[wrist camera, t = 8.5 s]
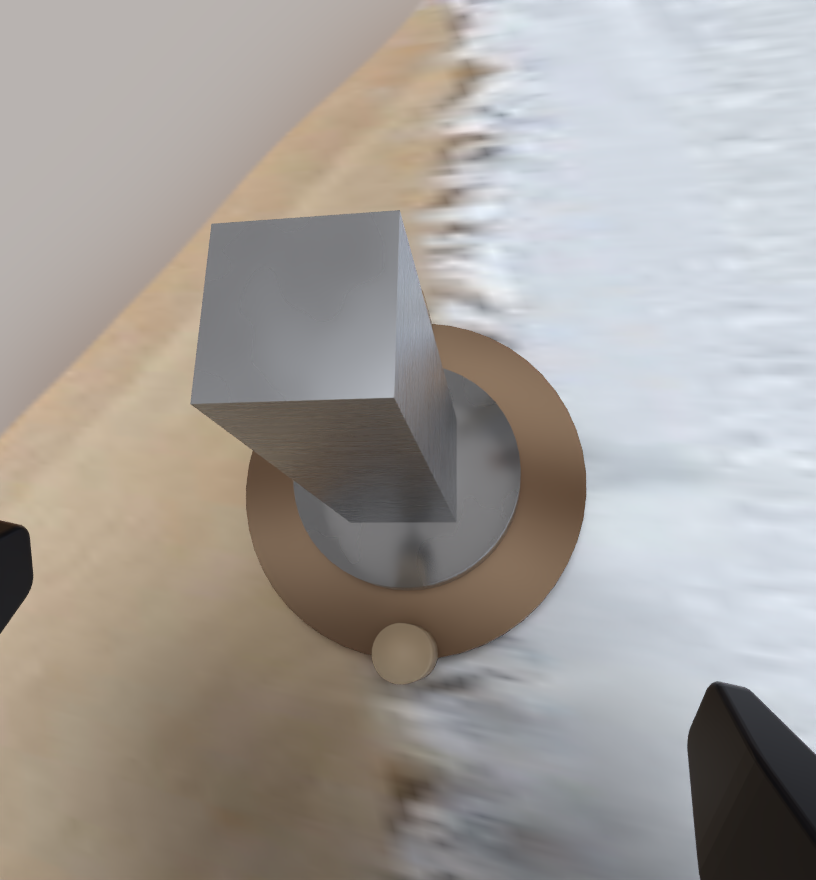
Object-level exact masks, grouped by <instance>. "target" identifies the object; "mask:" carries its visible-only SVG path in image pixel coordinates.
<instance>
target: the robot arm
mask: <svg viewBox="0 0 816 880" xmlns="http://www.w3.org/2000/svg"><path fill="white" fill-rule="evenodd" d="M32 582H33V567H32V556H31V545H30V535H29V532H28V530H27V529H26V528H25V527H24V526H22V525H19V524H14V523H10V522H5V521H1V520H0V634H1V632H2V631H3V629H4V628H5V626H6V625H7V624H8V622H9V621H10V619H11V618H12V616H13V615H14V614H15V612H16V611H17V609H18V608H19V607H20V605H21V604H22V602H23V601H24V599H25V598H26V597H27V595H28V593H29V591H30V589H31V586H32ZM687 749H688V761H689V772H690V783H691V794H692V806H693V817H694V828H695V839H696V850H697V859H698V868H699V875H700V880H816V754H815V753H814V752H813V751H812V750H811V749H810V748H809V747H808V746H807V745H806V744H805V743H803V742H802V741H801V740H800V739H799V738H798V737H797V736H796V735H795V734H794V733H793V732H792V731H791V730H790V729H789V728H788V727H787V726H786V725H785V724H784V723H783V722H782V721H781V720H780V719H779V718H778V717H777V716H776V715H775V714H774V713H773V712H772V711H771V710H770V709H769V708H768V707H767V706H766V705H765V704H764V703H763V702H762V701H761V700H760V699H759V698H758V697H757V696H756V695H755V694H754V693H753V692H751V691H750V690H749V689H747V688H745V687H741V686H737V685H732V684H728V683H723V682H714V683H712V684H711V685H710V686H709V687H708V689H707V690H706V693H705V695H704V697H703V699H702V702H701V704H700V706H699V709H698V711H697V713H696V716H695V718H694V720H693V723H692V725H691V727H690V730H689V734H688V743H687Z"/></svg>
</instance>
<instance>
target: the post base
mask: <svg viewBox="0 0 816 880" xmlns="http://www.w3.org/2000/svg"><path fill="white" fill-rule="evenodd" d="M421 290H422V289H421ZM422 294H423V297H424V293H423V291H422ZM424 301H425V297H424ZM425 305H426V308H427V304H426V301H425ZM427 312H428V308H427ZM428 316H429V319H430V315H429V312H428ZM430 323H431V319H430ZM431 327H432V330H433V334H434V338H435V341H436V345H437V348H438V352H439V356H440V359H441V363H442V367H443V369H447V370H450V371H452V372H455V373H457V374H459V375H462V376H463V377H465V378H467V379H468V380H470V381H472V382H474V383H475V384H476V385H478V386H479V387H480V388H481V389H483V390H484V391H485V392H486V393H487V394H488V395H489V396H490V397H491V398H492V399H493V400H494V401H495V402H496V404H497V405H498V406H499V408H500V409H501V410H502V412H503V413H504V415H505V416H506V418H507V420H508V422H509V424H510V426H511V428H512V431H513V433H514V436H515V438H516V442H517V446H518V451H519V457H520V467H521V479H520V495H519V500H518V506H517V509H516V512H515V515H514V518H513V521H512V523H511V525H510V527H509V529H508V531H507V534H506V535H505V537H504V538H503V540H502V541H501V543H500V544H499V546H498V547H497V548H496V549H495V550H494V552H493V553H492V554H491V555H490V556H489V557H488V558H487V559H486V560H485V561H484V562H483V563H482V564H480V565H479V566H478V567H477V568H475V569H474V570H472V571H471V572H469V573H468V574H466V575H465V576H463V577H461V578H459V579H457V580H455V581H453V582H451V583H448V584H445V585H442V586H439V587H435V588H430V589H424V590H412V591H405V590H393V589H388V588H384V587H379V586H376V585H373V584H371V583H368V582H365V581H363V580H361V579H358V578H356V577H354V576H352V575H350V574H349V573H347V572H345V571H343V570H342V569H340V568H339V567H338V566H336V565H335V564H333V563H332V562H331V561H330V560H329V559H328V558H327V557H326V556H325V555H324V554H323V553H321V551H320V550H319V549H318V548H317V546H316V545H315V544H314V543H313V541H312V540H311V538H310V537H309V535H308V533H307V531H306V530H305V528H304V526H303V523H302V521H301V518H300V516H299V513H298V509H297V505H296V502H295V495H294V487H293V480H292V479H291V478H290V477H288V476H287V475H286V474H284V473H283V472H281V471H280V470H279V469H277V468H276V467H275V466H273V465H272V464H271V463H269V462H268V461H267V460H265V459H264V458H263V457H261V456H260V455H259V454H257V453H256V452H255V451H253V452H252V456H251V460H250V464H249V469H248V477H247V485H246V510H247V517H248V525H249V531H250V534H251V538H252V542H253V546H254V549H255V552H256V554H257V557H258V559H259V562H260V564H261V566H262V569H263V571H264V573H265V574H266V576H267V578H268V579H269V581H270V583H271V584H272V586H273V588H274V589H275V591H276V592H277V593H278V594H279V596H280V597H281V598H282V600H283V601H284V602H285V603H286V605H287V606H288V607H289V608H290V609H291V610H292V611H293V612H294V613H295V614H296V615H297V616H299V617H300V618H301V619H302V620H303V621H304V622H305V623H306V624H308V625H309V626H311V627H312V628H313V629H315V630H316V631H318V632H319V633H320V634H322V635H323V636H325V637H327V638H329V639H331V640H333V641H335V642H337V643H338V644H340V645H342V646H345V647H348V648H350V649H353V650H356V651H359V652H362V653H364V654H369V655H372V661H373V664H374V667H375V669H376V671H377V672H378V673H379V675H380V676H381V677H382V678H384V679H385V680H386V681H388V682H390V683H393V684H400V685H401V684H408V683H411V682H414V681H418V680H421V679H423V678H425V677H426V676H428V675H429V674H430V673H431V672H432V670H433V669H434V667H435V665H436V662H437V658H440V657H445V656H450V655H454V654H459V653H463V652H466V651H469V650H471V649H474V648H477V647H480V646H482V645H485V644H486V643H488V642H490V641H492V640H494V639H496V638H498V637H500V636H502V635H504V634H505V633H506V632H508V631H509V630H511V629H512V628H513V627H515V626H516V625H518V624H519V623H520V622H522V621H523V620H524V619H525V618H526V617H527V616H528V615H529V614H530V613H531V612H533V611H534V610H535V609H536V608H537V607H538V606H539V605H540V604H541V602H542V601H543V600H544V599H545V597H546V596H547V595H548V594H549V592H550V591H551V590H552V589H553V587H554V586H555V584H556V582H557V581H558V579H559V577H560V576H561V574H562V572H563V571H564V569H565V567H566V566H567V564H568V562H569V559H570V557H571V555H572V552H573V550H574V548H575V545H576V543H577V540H578V536H579V533H580V529H581V525H582V521H583V517H584V509H585V501H586V470H585V464H584V457H583V451H582V447H581V444H580V440H579V437H578V434H577V430H576V428H575V426H574V423H573V421H572V419H571V417H570V414H569V412H568V410H567V408H566V407H565V405H564V403H563V402H562V400H561V399H560V397H559V395H558V394H557V392H556V391H555V390H554V388H553V387H552V386H551V385H550V384H549V382H548V381H547V380H546V379H545V378H544V376H543V375H542V374H541V373H540V372H539V371H538V370H537V369H535V368H534V367H533V366H532V365H531V364H530V363H529V362H528V361H527V360H525V359H524V358H523V357H521V356H520V355H518V354H517V353H516V352H514V351H513V350H511V349H510V348H508V347H506V346H504V345H503V344H501V343H499V342H497V341H495V340H493V339H491V338H489V337H486V336H483V335H481V334H478V333H475V332H473V331H469V330H465V329H461V328H457V327H452V326H445V325H436V324H432V323H431Z"/></svg>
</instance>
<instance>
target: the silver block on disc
mask: <svg viewBox="0 0 816 880" xmlns="http://www.w3.org/2000/svg"><path fill="white" fill-rule="evenodd" d="M191 405H193V406H194V407H195V408H197V409H198V410H199V411H201V412H202V413H203V414H205V415H206V416H207V417H209V418H210V419H211V420H213V421H214V422H215V423H217V424H218V425H219V426H221V427H222V428H224V429H225V430H226V431H228V432H229V433H230V434H232V435H233V436H234V437H236V438H237V439H238V440H240V441H241V442H242V443H244V444H245V445H246V446H248V447H249V448H250V449H252V450H253V451H255V452H256V453H257V454H259V455H260V456H261V457H263V458H264V459H265V460H267V461H268V462H269V463H271V464H272V465H273V466H275V467H276V468H277V469H279V470H280V471H281V472H283V473H284V474H286V475H287V476H288V477H290V478H291V479H292V480H293V487H294V495H295V502H296V505H297V509H298V513H299V516H300V518H301V521H302V523H303V526H304V528H305V530H306V531H307V533H308V535H309V537H310V538H311V540H312V541H313V543H314V544H315V545H316V546H317V548H318V549H319V550H320V551H321V553H323V554H324V555H325V556H326V557H327V558H328V559H329V560H330V561H331V562H332V563H333V564H335V565H336V566H338V567H339V568H340V569H342V570H343V571H345V572H347V573H349V574H350V575H352V576H354V577H356V578H358V579H361V580H363V581H365V582H368V583H371V584H373V585H376V586H379V587H384V588H388V589H393V590H405V591H412V590H424V589H430V588H435V587H439V586H442V585H445V584H448V583H451V582H453V581H455V580H457V579H459V578H461V577H463V576H465V575H466V574H468V573H469V572H471V571H472V570H474V569H475V568H477V567H478V566H479V565H480V564H482V563H483V562H484V561H485V560H486V559H487V558H488V557H489V556H490V555H491V554H492V553H493V552H494V550H495V549H496V548H497V547H498V546H499V544H500V543H501V541H502V540H503V538H504V537H505V535H506V534H507V531H508V529H509V527H510V525H511V523H512V521H513V518H514V515H515V512H516V509H517V506H518V500H519V495H520V479H521V467H520V457H519V451H518V446H517V442H516V438H515V436H514V433H513V431H512V428H511V426H510V424H509V422H508V420H507V418H506V416H505V415H504V413H503V412H502V410H501V409H500V408H499V406H498V405H497V404H496V402H495V401H494V400H493V399H492V398H491V397H490V396H489V395H488V394H487V393H486V392H485V391H484V390H483V389H481V388H480V387H479V386H478V385H476V384H475V383H474V382H472V381H470V380H468V379H467V378H465V377H463V376H462V375H459V374H457V373H455V372H452V371H450V370H447V369H443V367H442V363H441V359H440V356H439V352H438V348H437V345H436V341H435V338H434V334H433V330H432V327H431V323H430V319H429V316H428V312H427V308H426V305H425V301H424V297H423V294H422V290H421V286H420V283H419V279H418V275H417V272H416V268H415V264H414V261H413V257H412V254H411V250H410V246H409V243H408V239H407V235H406V232H405V228H404V224H403V221H402V217H401V213H400V210H397V211H383V212H369V213H356V214H342V215H328V216H314V217H300V218H287V219H273V220H259V221H245V222H231V223H218V224H212V225H211V233H210V242H209V250H208V259H207V267H206V276H205V284H204V293H203V302H202V310H201V319H200V327H199V336H198V344H197V353H196V361H195V370H194V378H193V387H192V395H191Z"/></svg>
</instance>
